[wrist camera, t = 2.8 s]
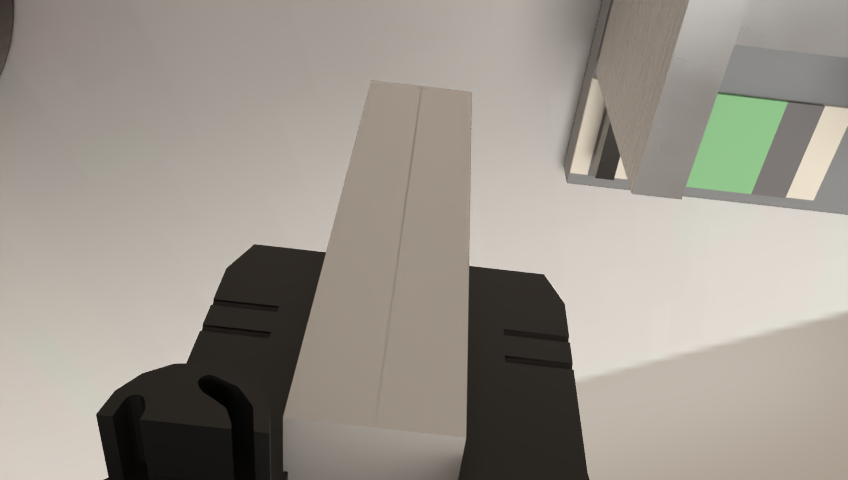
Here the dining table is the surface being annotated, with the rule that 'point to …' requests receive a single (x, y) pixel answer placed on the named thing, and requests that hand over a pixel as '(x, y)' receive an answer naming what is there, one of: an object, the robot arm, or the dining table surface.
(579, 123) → the gauge base
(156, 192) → the dining table surface
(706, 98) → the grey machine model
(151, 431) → the robot arm
